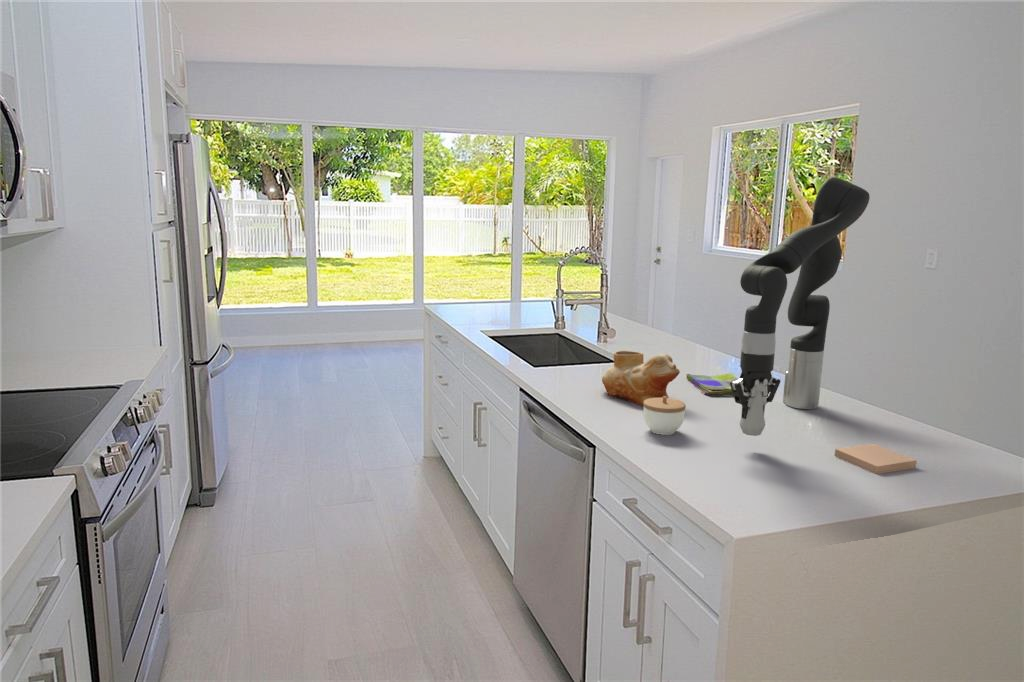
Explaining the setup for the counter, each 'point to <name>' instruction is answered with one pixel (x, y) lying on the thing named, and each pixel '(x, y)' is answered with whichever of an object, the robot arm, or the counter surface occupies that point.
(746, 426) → the salt shaker
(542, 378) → the counter surface
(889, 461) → the tile
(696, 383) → the dish towel
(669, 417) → the lidded jar
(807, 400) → the robot arm
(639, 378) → the ceramic vessel
